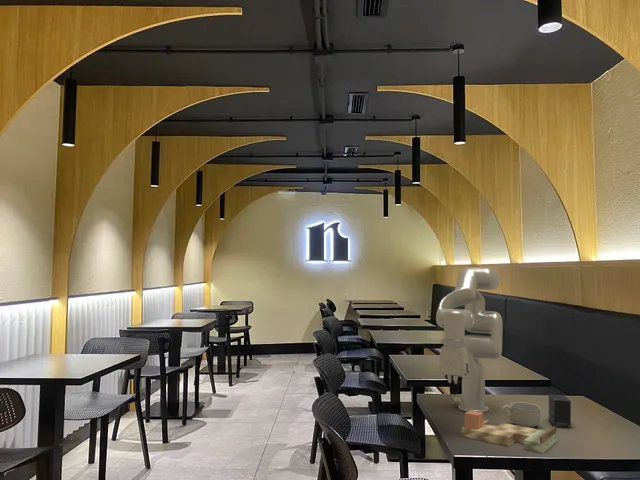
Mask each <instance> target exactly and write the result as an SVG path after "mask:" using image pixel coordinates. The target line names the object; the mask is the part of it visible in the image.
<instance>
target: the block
mask: <svg viewBox="0 0 640 480" xmlns="http://www.w3.org/2000/svg"><path fill="white" fill-rule="evenodd" d="M483 420H484V412H483V413H482V412H477V411H471V410H470V411H468V412H466V411H465V412H464V426H465V427H466V428H471V429H477V430H479V429H480V428H482V427H484V425H483Z"/></svg>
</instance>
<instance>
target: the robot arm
mask: <svg viewBox="0 0 640 480" xmlns="http://www.w3.org/2000/svg"><path fill="white" fill-rule="evenodd" d="M499 285H500V276H499V273H498V272H497V270H495V269H493V268H491V267H485V266H484V267H479V266H478V267H475V266H472V267H471V266H469V267H464V268H462V269H461V270H460V271H459V273H458V275H457V279H456V284H455V287H454V290H453V291H451V292H449V293H448V294H447V295H445V296H444V297H442V299H441V300H440V302H439V304H438V306H437V311H436V316H435V321H436V322H435V323H436V325H437V326H438V327H440V328H442V329H443V339H440V344H442V346H441V348H440V353H439V362H438V373H440V377H442V378H445V379H446V380H447V383H449V394H450V395H453V396H454V397H453V402H454V403H458V406H457V407H458V409H459V410H460V411H463V412H465V413H466V412H468V411H470V410H471V411H477V412H482V413H483V414H484V413H487V412H489V410H490V407H489V406H487V405H486V403H485V402H486V383H485V382H486V381H485V380H486V379H485V378H486V374H485V373H486V370H485V366H484V364H483V363H482V361H481V360H480V359H486V360H487V359H488V360H498V359H500V357H502V353H503V316H501V314H500V313H499V312H497V311H491V310H486V308H485V307H486V300H485V297H484V296H483V295H482V294H481V292H480V291H479V290H487V291H488V290H493V291H494V290H497V288H498V287H499ZM462 306H464V309H459V307H462ZM457 308H458V309H457ZM465 330H466V331H467V332H470V333H477V335H476V334H475V335H474V334H468V335H467V334H466V335H465V333H466V332H465ZM478 334H480V335H478ZM481 334H490V335H481ZM460 383H461V396H459V397H458V396H455V395H458V393H459V392H460V391H459V390H460Z"/></svg>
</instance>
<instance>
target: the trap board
mask: <svg viewBox="0 0 640 480" xmlns="http://www.w3.org/2000/svg"><path fill="white" fill-rule="evenodd" d="M483 425H484V427H482V428H480V429H479V430H477V429H471V428H466V427H465V425H464V426H462V427H461V438H462V437H464V438H469V439H472V440H476V441H477V440H478V441H483V442H488V443H492V444H497V445H503V446H507V447H510V446H512V445H513V444H514V443H519V444H522V445H523V448H524V450H525V451H531V452H536V453H541V454H544V453H545V452H547V451H548V450H549V449H550V448H551V447H552V446H553V445H555V443H557V441H558V440H557V427H554V426H553V425H552V427H550V428H549V429H548V430H543V429H538V428H528V427H522V426H517V425H516V424H510V423H505V422H504V423H503V422H501V423H500V424H498V425H491V424H490V420H488V419H483Z"/></svg>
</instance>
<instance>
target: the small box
mask: <svg viewBox="0 0 640 480" xmlns="http://www.w3.org/2000/svg"><path fill="white" fill-rule="evenodd" d="M571 404H572V402H571V400H570V399H569V398H568V397H567V396H565V394H563V395H561V394H551V393H549V394H548V422H549V423H550V424H551V425H552V427H553V426H554V427H556V428H562V429H563V428H565V429H571V428H572V425H571V424H572V422H571V421H572V419H571V417H572V414H571V411H572V410H571V408H572V405H571Z"/></svg>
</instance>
